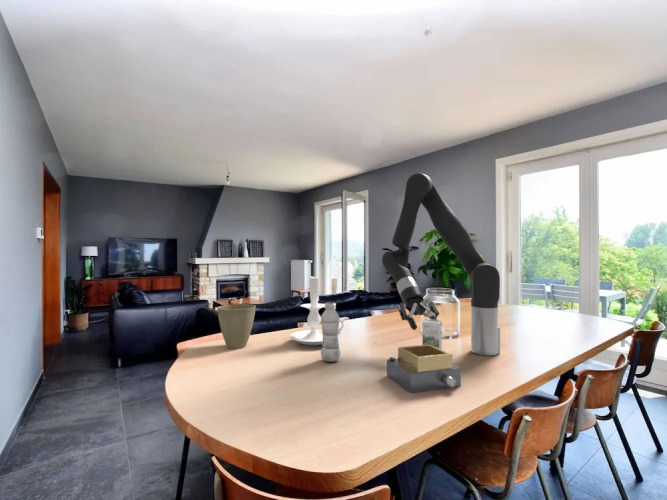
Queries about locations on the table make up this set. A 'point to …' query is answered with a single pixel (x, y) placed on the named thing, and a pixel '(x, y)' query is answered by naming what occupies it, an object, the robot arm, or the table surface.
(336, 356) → the plastic bottle
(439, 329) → the syrup box
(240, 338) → the plant pot
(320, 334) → the candlestick
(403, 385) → the grey square holder
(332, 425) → the table surface
